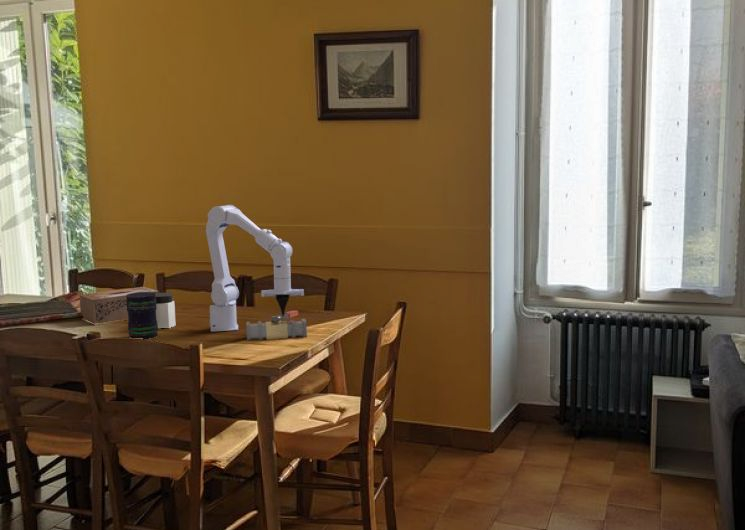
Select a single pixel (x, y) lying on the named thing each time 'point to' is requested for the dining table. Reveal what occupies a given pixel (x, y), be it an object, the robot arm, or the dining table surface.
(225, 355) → the dining table surface
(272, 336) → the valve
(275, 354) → the dining table surface
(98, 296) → the tissue box cover
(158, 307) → the jar
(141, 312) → the storage jar
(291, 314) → the lever
